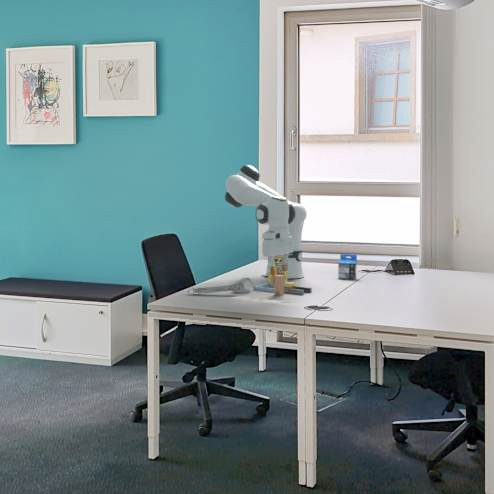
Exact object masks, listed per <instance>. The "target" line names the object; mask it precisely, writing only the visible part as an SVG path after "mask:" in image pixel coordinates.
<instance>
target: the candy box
mask: <svg viewBox="0 0 494 494" xmlns="http://www.w3.org/2000/svg"><path fill="white" fill-rule="evenodd" d="M283 257H284V256H283V254H282V255H276V256H274V258H273V259H274V262H275V266H270V261H269V259H268V258H267V265H268V277H267V283H272V284H274V283H275V275H284V283H286V282H288V278H287V263H286V264H282V260H283Z"/></svg>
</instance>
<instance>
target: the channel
mask: <svg viewBox="0 0 494 494" xmlns="http://www.w3.org/2000/svg"><path fill="white" fill-rule="evenodd" d="M312 289H313V288H312V287H307V286H298V285H296V289H291V288H284V294H286V295H287V294H288V295H296V296H304V295H307V294H311V293H313V290H312Z"/></svg>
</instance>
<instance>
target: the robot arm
mask: <svg viewBox="0 0 494 494" xmlns="http://www.w3.org/2000/svg"><path fill="white" fill-rule="evenodd" d="M260 177H261V176H260V172H259V171H258V169H257V168H255V167H254V166H252V165H249V164H243V166H241V168H240V169H239V171H238V172H237V173H236V174H232V175H230V176H228V177H227V178H226V181H225V184H224V185H225V189H226V191H225V194H224V200H225V201H226V203H227V204H228V205H229V206H231V207H233V208H242V206H248V207H249V206H251V207H252V206H257V208H256V209H255V218H256V221H257V222H258V223H259V224H260V225H264V226H266V225H268V229H267V230H266V231H265V232H263V233H262V235H261V236H262V237H261V238H262V239H263V240H262V244H261V245H262V251H261V252H262V255H263V257H267V260H268V259H269V261H270V266H275V262H274V259H273V258H274V256H276V255H282V254H283V256H284V257H283V260H282V264H286V263H287V279H301V278H302V279H303V278H304V277H305V275H304V271H303V270H304V269H303V260H302V259H303V250H302V233H303V227H304V225H305V224H304V223H305V220H306V218H307V211H306V210H307V209H305V207H304V206H303V205H302V204H300V203H297V202H293V201H290V200H288V198H286V197H285V196H283V195H281V194H280V193H279V192H277V191H275V189H272V188H270V187H269V186H267V185H266V184H264V183H262V182H260ZM261 276H262V277H266V276H268V264H266V269H265V272H262V274H261Z"/></svg>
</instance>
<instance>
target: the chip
mask: <svg viewBox="0 0 494 494" xmlns="http://www.w3.org/2000/svg"><path fill="white" fill-rule="evenodd" d="M296 286H297V282H293V281H287V282H286V283H284V288H291V289H296Z"/></svg>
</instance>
